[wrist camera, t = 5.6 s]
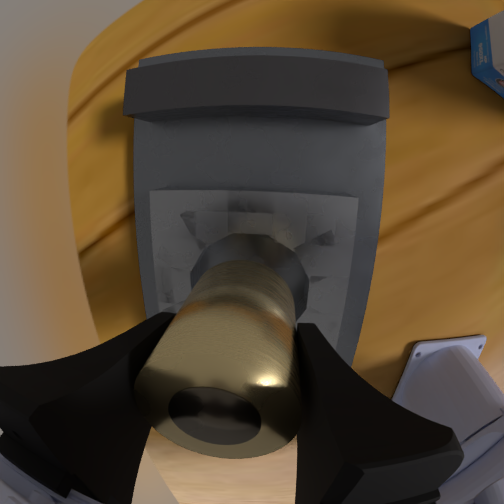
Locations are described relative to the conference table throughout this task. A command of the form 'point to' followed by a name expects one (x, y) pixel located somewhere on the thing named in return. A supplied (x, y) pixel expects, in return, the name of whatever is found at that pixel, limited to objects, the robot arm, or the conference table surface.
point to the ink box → (489, 52)
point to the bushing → (227, 366)
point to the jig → (261, 175)
